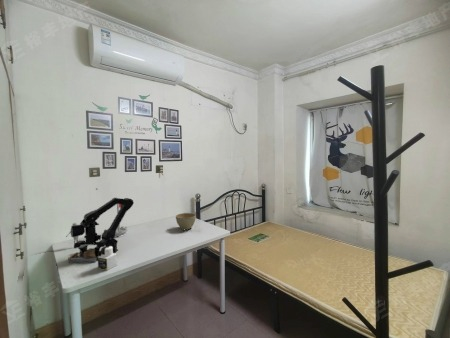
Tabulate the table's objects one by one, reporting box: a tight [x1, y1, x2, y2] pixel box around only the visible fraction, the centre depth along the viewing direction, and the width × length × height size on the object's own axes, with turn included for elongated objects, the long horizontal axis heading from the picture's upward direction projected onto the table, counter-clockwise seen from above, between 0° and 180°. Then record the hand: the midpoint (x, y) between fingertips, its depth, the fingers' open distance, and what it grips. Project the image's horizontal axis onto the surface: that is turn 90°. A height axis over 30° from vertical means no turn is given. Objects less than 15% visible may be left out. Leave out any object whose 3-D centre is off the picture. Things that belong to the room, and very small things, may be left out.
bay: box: [67, 249, 101, 264], centre depth 145 cm, size 20×17×6 cm
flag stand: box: [115, 204, 128, 237], centre depth 186 cm, size 13×13×30 cm
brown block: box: [84, 247, 99, 258], centre depth 142 cm, size 6×6×5 cm
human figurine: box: [65, 222, 79, 245], centre depth 161 cm, size 12×4×18 cm, turn 145°
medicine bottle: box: [97, 246, 118, 271], centre depth 130 cm, size 7×7×12 cm
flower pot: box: [175, 212, 197, 230], centre depth 200 cm, size 18×18×12 cm
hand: (91, 256), depth 142 cm, fingers closed on brown block, 6 cm apart
